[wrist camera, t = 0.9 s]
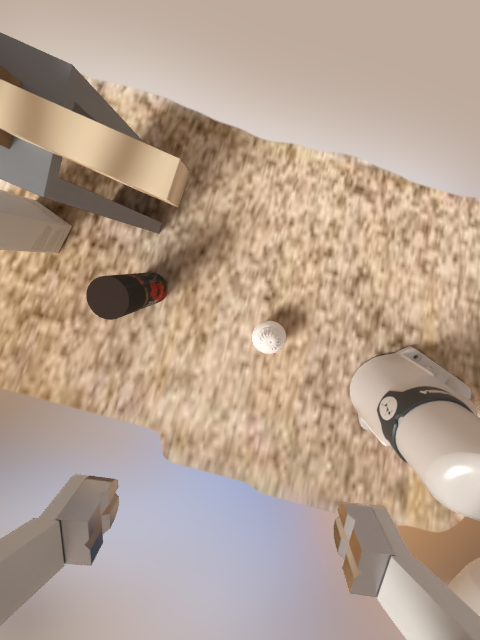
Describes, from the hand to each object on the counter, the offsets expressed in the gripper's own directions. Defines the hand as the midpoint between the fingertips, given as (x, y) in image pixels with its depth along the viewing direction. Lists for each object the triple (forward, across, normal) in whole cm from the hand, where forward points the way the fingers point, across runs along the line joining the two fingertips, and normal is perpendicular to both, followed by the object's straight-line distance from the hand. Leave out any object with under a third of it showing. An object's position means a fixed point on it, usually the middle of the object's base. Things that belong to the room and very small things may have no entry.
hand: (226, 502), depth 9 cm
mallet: (+16, -15, +16) cm, 27 cm away
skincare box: (+42, -38, +10) cm, 58 cm away
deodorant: (+41, -18, +1) cm, 45 cm away
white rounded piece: (+40, +5, -6) cm, 41 cm away
